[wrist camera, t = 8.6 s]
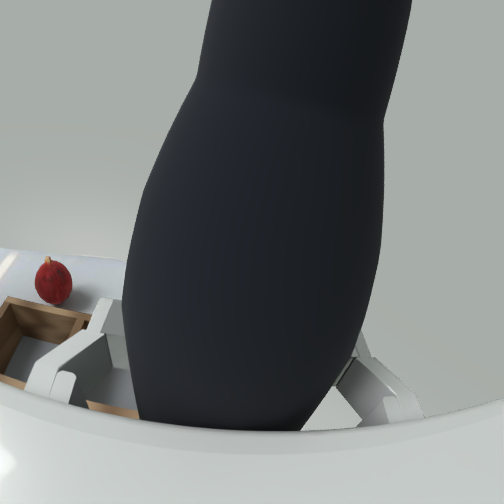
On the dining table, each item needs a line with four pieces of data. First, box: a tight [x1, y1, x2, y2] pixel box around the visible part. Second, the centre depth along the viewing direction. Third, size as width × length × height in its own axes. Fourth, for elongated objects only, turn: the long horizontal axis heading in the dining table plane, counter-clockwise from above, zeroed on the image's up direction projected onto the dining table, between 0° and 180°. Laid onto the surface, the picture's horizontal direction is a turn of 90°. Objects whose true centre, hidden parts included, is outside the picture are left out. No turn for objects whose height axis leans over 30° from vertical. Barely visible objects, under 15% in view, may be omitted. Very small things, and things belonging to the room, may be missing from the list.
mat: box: [4, 335, 138, 411], centre depth 31 cm, size 25×14×1 cm, turn 93°
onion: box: [35, 256, 72, 304], centre depth 39 cm, size 6×6×8 cm
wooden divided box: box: [0, 296, 140, 420], centre depth 29 cm, size 23×12×6 cm, turn 93°
